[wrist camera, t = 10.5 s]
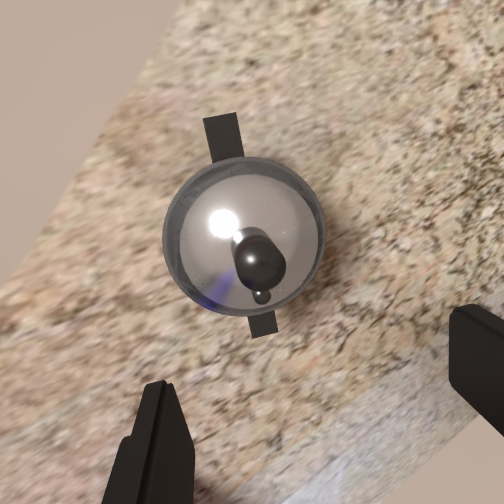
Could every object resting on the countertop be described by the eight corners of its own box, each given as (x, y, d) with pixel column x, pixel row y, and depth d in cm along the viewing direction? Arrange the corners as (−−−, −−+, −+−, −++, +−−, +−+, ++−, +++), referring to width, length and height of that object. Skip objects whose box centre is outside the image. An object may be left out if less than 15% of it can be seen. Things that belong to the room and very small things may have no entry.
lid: (304, 161, 24) (335, 163, 18) (320, 286, 28) (350, 322, 22) (164, 189, 23) (150, 201, 17) (199, 315, 27) (197, 360, 21)
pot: (282, 111, 31) (310, 95, 23) (308, 287, 38) (337, 326, 29) (148, 138, 30) (125, 131, 22) (198, 313, 37) (196, 361, 28)
